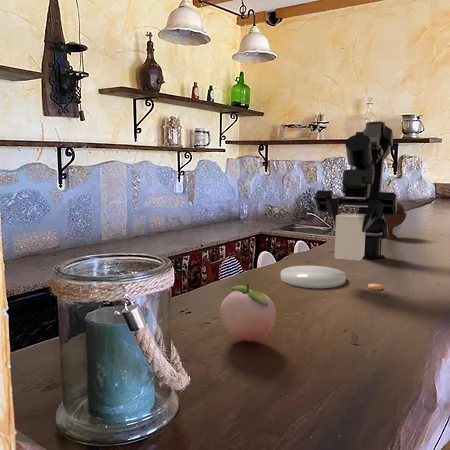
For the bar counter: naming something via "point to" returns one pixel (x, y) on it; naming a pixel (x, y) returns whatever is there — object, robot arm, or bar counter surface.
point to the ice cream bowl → (394, 221)
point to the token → (375, 286)
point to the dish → (313, 276)
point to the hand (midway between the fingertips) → (349, 230)
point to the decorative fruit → (247, 313)
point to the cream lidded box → (349, 236)
